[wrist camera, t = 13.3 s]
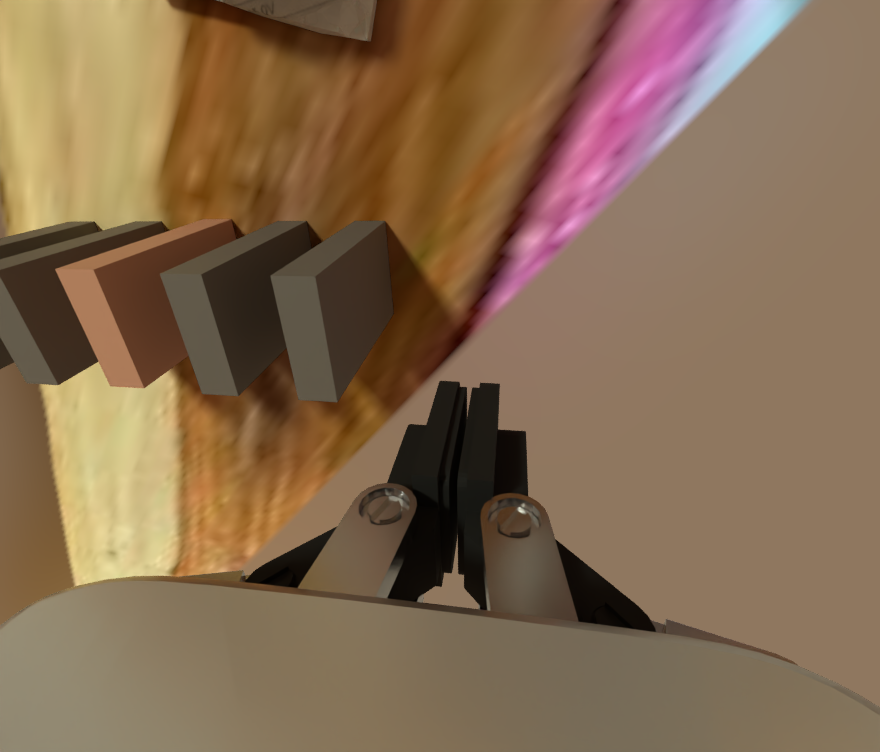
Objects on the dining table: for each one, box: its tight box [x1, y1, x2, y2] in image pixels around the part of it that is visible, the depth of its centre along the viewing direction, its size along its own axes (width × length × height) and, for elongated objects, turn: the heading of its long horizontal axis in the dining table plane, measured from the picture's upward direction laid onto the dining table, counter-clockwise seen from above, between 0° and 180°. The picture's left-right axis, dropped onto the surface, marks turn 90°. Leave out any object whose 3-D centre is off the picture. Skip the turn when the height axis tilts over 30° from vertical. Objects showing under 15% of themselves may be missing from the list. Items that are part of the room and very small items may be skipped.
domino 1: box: [0, 222, 98, 369], centre depth 23 cm, size 2×5×9 cm, turn 2°
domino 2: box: [0, 222, 165, 385], centre depth 22 cm, size 2×5×9 cm, turn 2°
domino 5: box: [271, 221, 394, 402], centre depth 20 cm, size 2×5×9 cm, turn 1°
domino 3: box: [55, 219, 237, 388], centre depth 21 cm, size 2×5×9 cm, turn 2°
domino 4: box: [160, 221, 311, 396], centre depth 21 cm, size 2×5×9 cm, turn 2°
